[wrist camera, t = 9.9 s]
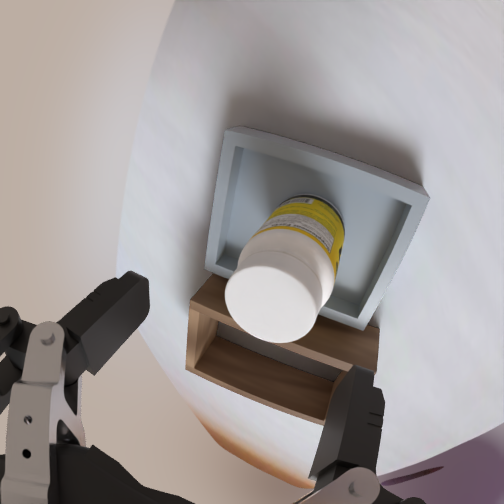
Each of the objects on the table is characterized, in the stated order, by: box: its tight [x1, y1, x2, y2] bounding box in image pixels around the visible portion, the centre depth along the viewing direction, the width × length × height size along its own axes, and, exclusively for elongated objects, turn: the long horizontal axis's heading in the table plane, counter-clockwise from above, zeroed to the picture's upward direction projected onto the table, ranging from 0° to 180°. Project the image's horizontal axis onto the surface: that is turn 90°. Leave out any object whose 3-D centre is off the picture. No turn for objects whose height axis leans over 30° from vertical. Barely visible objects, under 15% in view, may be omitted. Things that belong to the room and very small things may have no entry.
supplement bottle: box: [225, 194, 345, 343], centre depth 16 cm, size 5×5×8 cm
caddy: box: [185, 273, 380, 426], centre depth 24 cm, size 9×14×4 cm, turn 78°
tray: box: [204, 126, 430, 331], centre depth 19 cm, size 10×12×2 cm
